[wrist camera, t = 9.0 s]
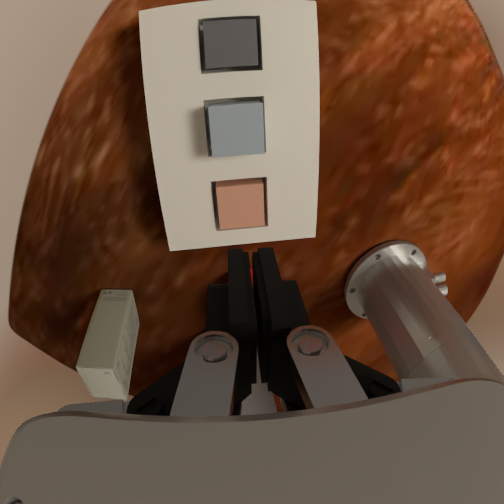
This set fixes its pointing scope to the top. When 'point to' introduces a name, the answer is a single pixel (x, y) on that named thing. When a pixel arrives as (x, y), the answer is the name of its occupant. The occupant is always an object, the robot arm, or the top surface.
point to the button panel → (231, 90)
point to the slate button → (236, 128)
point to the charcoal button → (230, 43)
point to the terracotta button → (240, 203)
